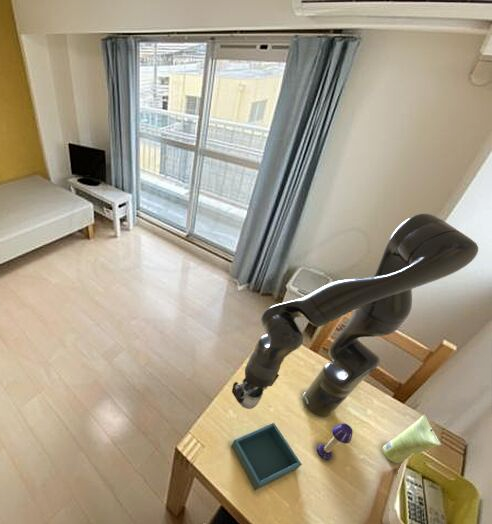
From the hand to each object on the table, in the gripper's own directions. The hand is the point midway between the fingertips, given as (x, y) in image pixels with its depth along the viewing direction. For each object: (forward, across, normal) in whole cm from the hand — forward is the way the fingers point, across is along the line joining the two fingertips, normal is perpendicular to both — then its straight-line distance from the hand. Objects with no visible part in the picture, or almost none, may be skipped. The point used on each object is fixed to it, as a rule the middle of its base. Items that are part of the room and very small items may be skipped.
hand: (248, 396), depth 90 cm
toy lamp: (+15, +19, -18) cm, 30 cm away
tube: (+15, +38, -26) cm, 48 cm away
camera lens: (+3, 0, 0) cm, 3 cm away
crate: (+15, 0, -13) cm, 20 cm away
